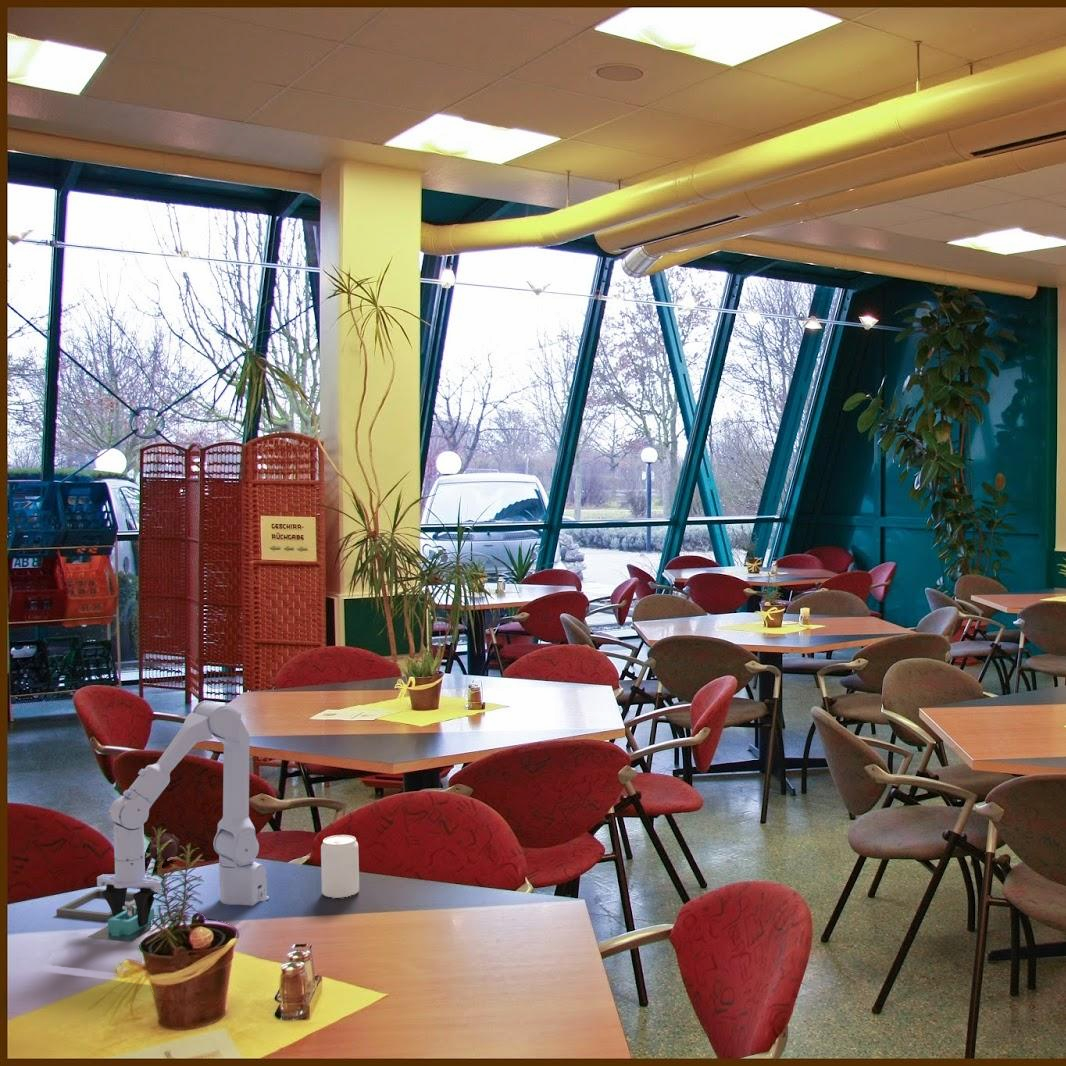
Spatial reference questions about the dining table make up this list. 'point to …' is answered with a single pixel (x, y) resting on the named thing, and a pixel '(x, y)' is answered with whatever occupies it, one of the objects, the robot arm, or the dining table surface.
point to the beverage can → (340, 866)
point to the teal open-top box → (126, 923)
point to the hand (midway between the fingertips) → (131, 923)
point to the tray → (72, 912)
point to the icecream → (168, 851)
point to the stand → (127, 938)
